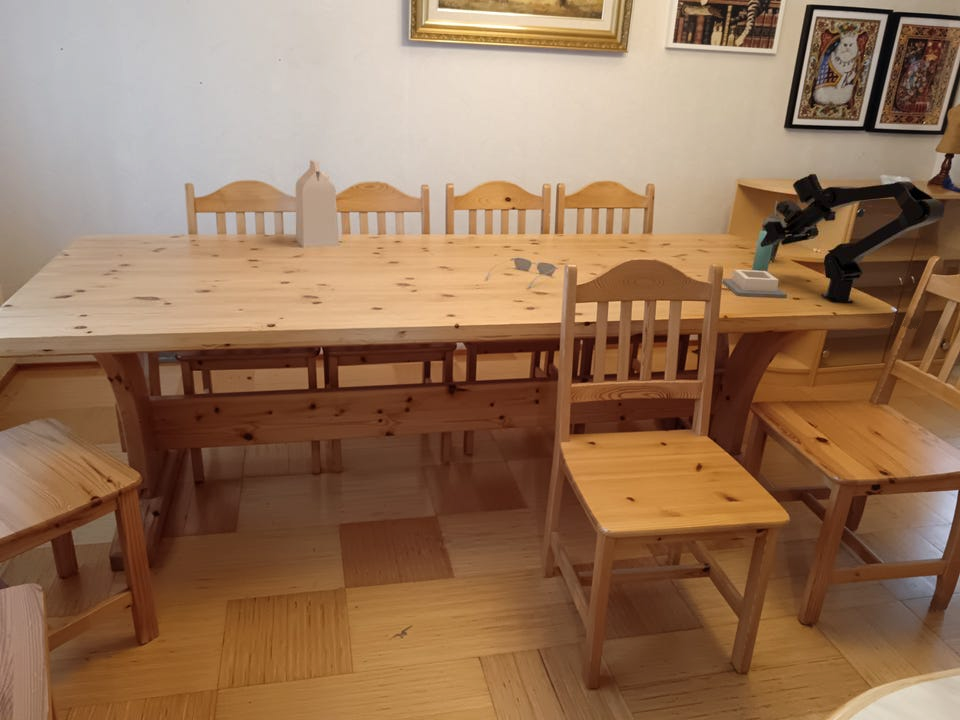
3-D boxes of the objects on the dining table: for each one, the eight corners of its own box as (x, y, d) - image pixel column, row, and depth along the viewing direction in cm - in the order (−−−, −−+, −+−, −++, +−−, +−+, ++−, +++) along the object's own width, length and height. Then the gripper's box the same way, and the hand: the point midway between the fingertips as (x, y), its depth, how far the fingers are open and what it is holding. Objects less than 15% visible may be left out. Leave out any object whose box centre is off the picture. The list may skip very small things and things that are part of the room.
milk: (296, 239, 237) (291, 158, 227) (330, 237, 241) (327, 158, 231) (303, 247, 227) (299, 163, 217) (339, 245, 231) (336, 163, 221)
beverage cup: (764, 263, 237) (776, 203, 229) (750, 257, 243) (762, 199, 236) (782, 263, 239) (795, 203, 231) (769, 257, 245) (781, 199, 238)
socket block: (786, 298, 201) (789, 282, 199) (737, 295, 201) (740, 280, 199) (767, 283, 214) (770, 269, 212) (721, 281, 214) (724, 267, 212)
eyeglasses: (557, 278, 210) (558, 265, 209) (529, 292, 196) (530, 278, 194) (511, 268, 217) (512, 256, 216) (481, 281, 203) (482, 268, 201)
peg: (768, 275, 223) (777, 234, 218) (754, 274, 223) (763, 233, 218) (763, 271, 227) (771, 231, 222) (749, 270, 227) (757, 230, 222)
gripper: (819, 191, 213) (781, 220, 226) (776, 194, 204) (739, 224, 218) (835, 223, 210) (796, 251, 223) (792, 227, 201) (754, 255, 214)
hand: (771, 244), depth 219 cm, fingers open, 9 cm apart
